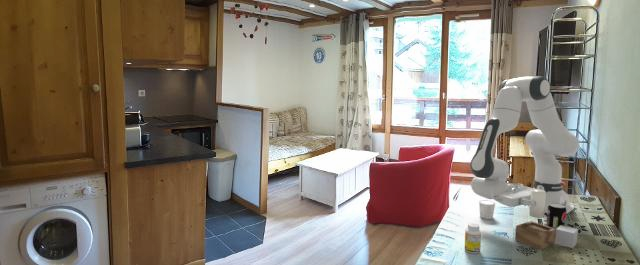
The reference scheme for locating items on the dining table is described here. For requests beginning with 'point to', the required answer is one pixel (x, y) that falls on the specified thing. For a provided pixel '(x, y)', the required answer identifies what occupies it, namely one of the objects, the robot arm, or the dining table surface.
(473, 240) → the supplement bottle
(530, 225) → the brown wooden open box
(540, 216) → the white pillar candle
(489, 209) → the shot glass
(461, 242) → the dining table surface
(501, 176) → the robot arm
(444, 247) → the dining table surface
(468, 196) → the dining table surface
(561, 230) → the grey block
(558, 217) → the beverage can
